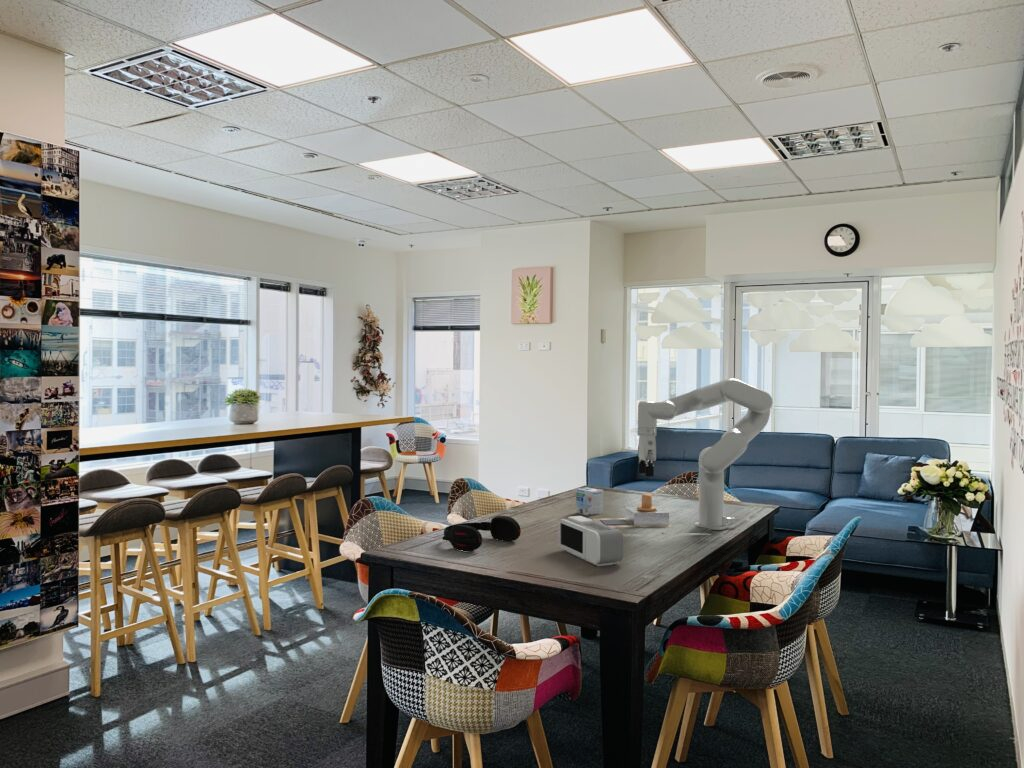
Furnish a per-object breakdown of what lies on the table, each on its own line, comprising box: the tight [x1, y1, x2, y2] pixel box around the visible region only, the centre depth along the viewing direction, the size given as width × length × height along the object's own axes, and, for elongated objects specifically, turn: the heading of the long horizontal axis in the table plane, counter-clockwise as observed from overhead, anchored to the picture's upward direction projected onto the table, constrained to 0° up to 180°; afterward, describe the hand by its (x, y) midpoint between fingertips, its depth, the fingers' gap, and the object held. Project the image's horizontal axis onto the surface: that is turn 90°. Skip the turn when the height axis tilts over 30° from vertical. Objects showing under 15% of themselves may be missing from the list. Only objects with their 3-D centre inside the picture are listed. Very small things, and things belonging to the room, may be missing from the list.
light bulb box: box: [575, 486, 604, 517], centre depth 333 cm, size 11×7×11 cm, turn 37°
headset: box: [442, 515, 522, 552], centre depth 273 cm, size 28×26×9 cm
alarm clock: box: [557, 515, 624, 567], centre depth 255 cm, size 27×9×12 cm, turn 23°
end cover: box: [636, 493, 657, 512], centre depth 310 cm, size 8×8×11 cm
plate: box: [592, 506, 674, 529], centre depth 310 cm, size 28×18×6 cm, turn 96°
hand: (645, 474), depth 310 cm, fingers open, 9 cm apart
